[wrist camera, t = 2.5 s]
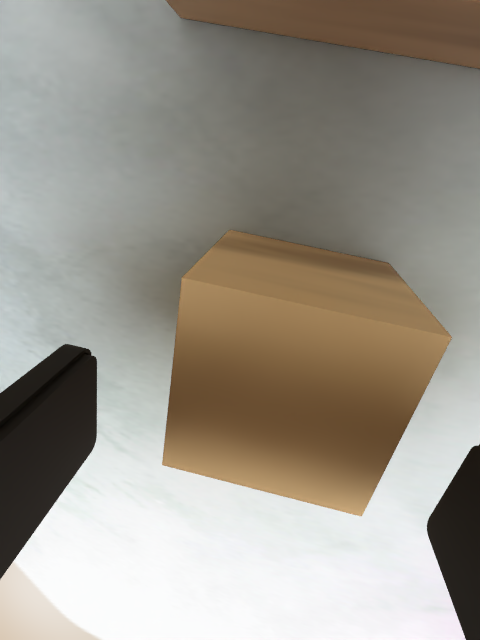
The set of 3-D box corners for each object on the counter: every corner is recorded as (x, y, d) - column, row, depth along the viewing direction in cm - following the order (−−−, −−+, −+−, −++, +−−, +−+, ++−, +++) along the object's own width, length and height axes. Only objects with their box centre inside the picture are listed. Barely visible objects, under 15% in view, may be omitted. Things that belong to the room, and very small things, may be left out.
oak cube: (229, 229, 13) (182, 277, 8) (388, 262, 13) (451, 336, 7) (208, 361, 16) (161, 465, 10) (340, 392, 15) (361, 516, 10)
